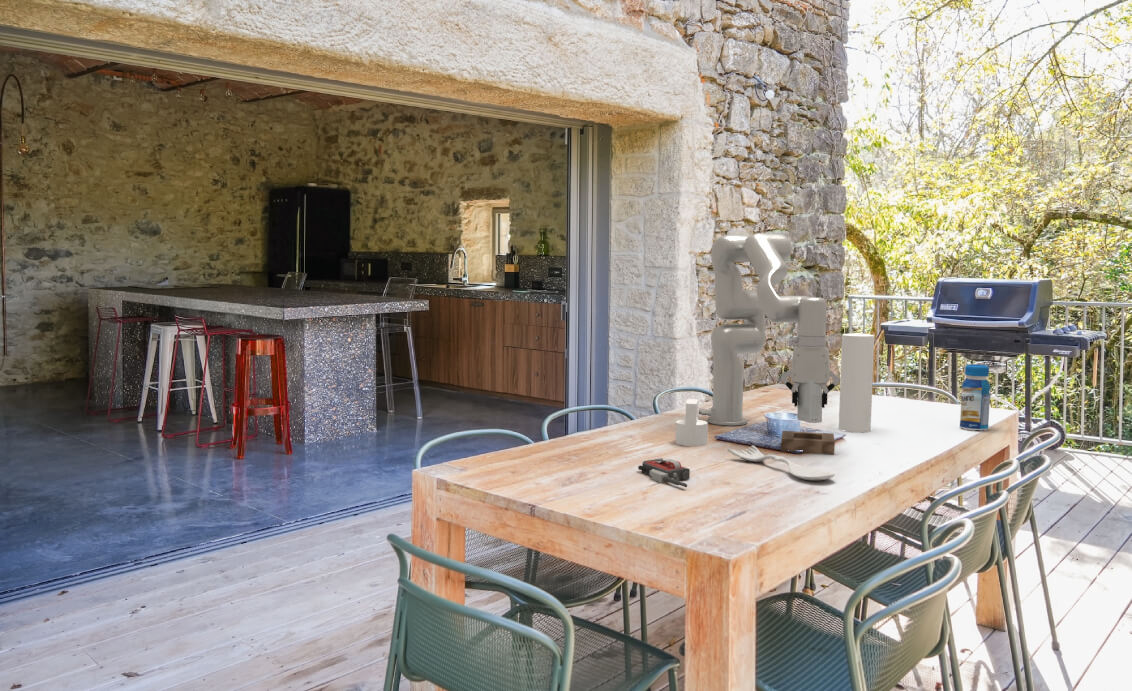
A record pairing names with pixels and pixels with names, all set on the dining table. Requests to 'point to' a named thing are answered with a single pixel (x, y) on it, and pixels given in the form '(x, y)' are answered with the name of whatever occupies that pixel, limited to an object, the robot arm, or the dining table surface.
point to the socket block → (808, 442)
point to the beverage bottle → (975, 398)
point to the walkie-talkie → (665, 471)
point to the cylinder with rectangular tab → (691, 427)
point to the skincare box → (809, 402)
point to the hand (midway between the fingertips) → (809, 406)
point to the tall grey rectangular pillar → (856, 382)
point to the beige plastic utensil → (794, 468)
